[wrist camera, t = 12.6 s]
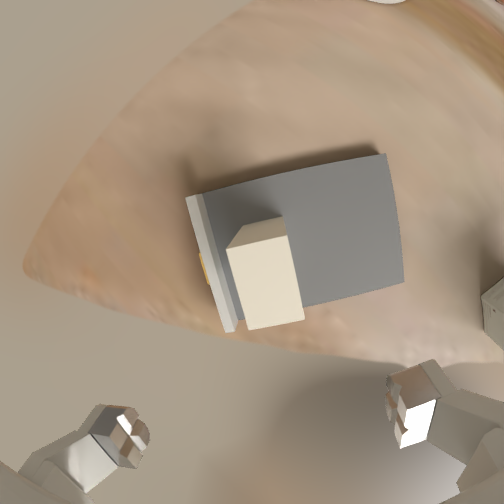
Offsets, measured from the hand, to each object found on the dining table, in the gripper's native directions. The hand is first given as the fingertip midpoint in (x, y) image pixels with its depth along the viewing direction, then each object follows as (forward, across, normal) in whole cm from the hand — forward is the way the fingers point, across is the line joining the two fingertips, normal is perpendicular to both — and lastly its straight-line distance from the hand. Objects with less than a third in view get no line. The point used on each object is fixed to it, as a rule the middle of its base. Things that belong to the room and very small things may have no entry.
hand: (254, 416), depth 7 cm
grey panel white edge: (+23, -4, 0) cm, 23 cm away
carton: (+22, 0, 0) cm, 22 cm away
